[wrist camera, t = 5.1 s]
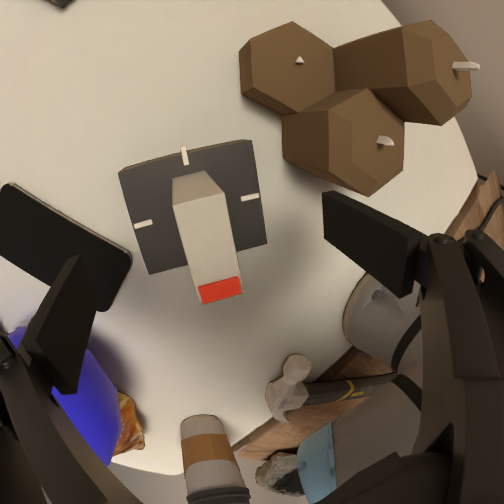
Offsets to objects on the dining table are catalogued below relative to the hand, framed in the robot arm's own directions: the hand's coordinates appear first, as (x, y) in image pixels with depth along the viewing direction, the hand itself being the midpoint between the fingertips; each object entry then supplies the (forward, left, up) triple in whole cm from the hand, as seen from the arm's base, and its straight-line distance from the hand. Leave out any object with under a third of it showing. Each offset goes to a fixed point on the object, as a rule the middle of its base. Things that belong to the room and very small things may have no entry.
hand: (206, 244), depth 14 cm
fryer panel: (0, 0, -10) cm, 10 cm away
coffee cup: (+8, +33, -11) cm, 35 cm away
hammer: (-30, +41, -9) cm, 52 cm away
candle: (-13, -8, -11) cm, 19 cm away
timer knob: (0, 0, -7) cm, 7 cm away
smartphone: (+14, +1, -10) cm, 17 cm away
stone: (-10, +59, -1) cm, 60 cm away
